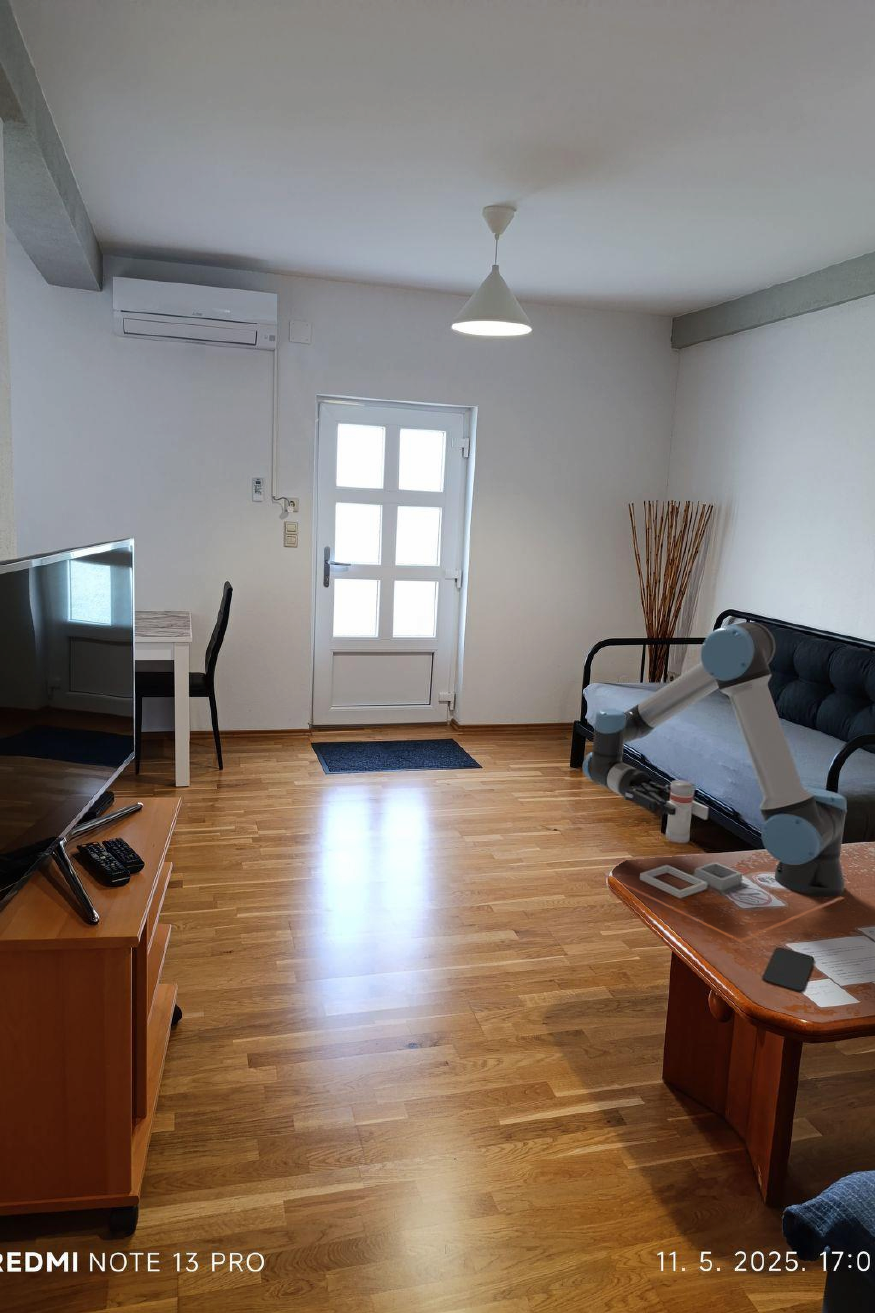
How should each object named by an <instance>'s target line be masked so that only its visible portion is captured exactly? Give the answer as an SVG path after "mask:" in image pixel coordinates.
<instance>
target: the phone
mask: <svg viewBox="0 0 875 1313" xmlns="http://www.w3.org/2000/svg"><path fill="white" fill-rule="evenodd" d="M814 964H815V958H814V956H812V955H810V954H806V953H803V952H799V951H795V950H792V949H788V948H784V947H780V946H779V947H778V946H777V947H775V949H774V950H773V952H772V955H771V957H770V960H769V961H768V964H767V967H766V968H765V971H764V973H763V975H762V981H763V982H764V983H767V984H769V985H772V986H773V985H774V986H777V987H780V988H783V989H787V990H791V991H794V992H797V993H802V992H804V990H805V988H806V985H807V983H808V980H809V977H810V975H811V971H812V969H813V966H814Z"/></svg>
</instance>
